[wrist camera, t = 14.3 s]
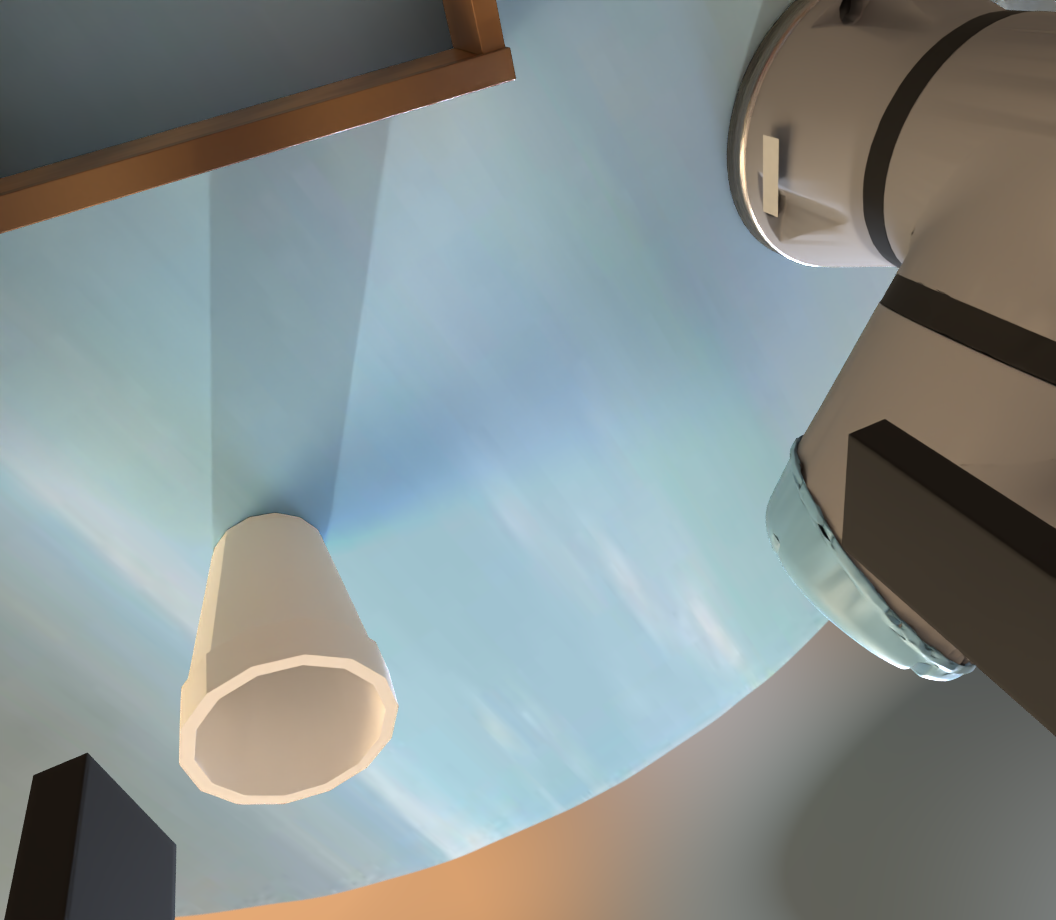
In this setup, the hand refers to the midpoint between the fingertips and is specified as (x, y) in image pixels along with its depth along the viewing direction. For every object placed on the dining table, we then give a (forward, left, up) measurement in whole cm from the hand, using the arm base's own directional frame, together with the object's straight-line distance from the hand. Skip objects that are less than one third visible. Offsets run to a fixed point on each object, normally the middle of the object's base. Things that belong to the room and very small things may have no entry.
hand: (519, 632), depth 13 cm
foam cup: (0, +20, -29) cm, 35 cm away
